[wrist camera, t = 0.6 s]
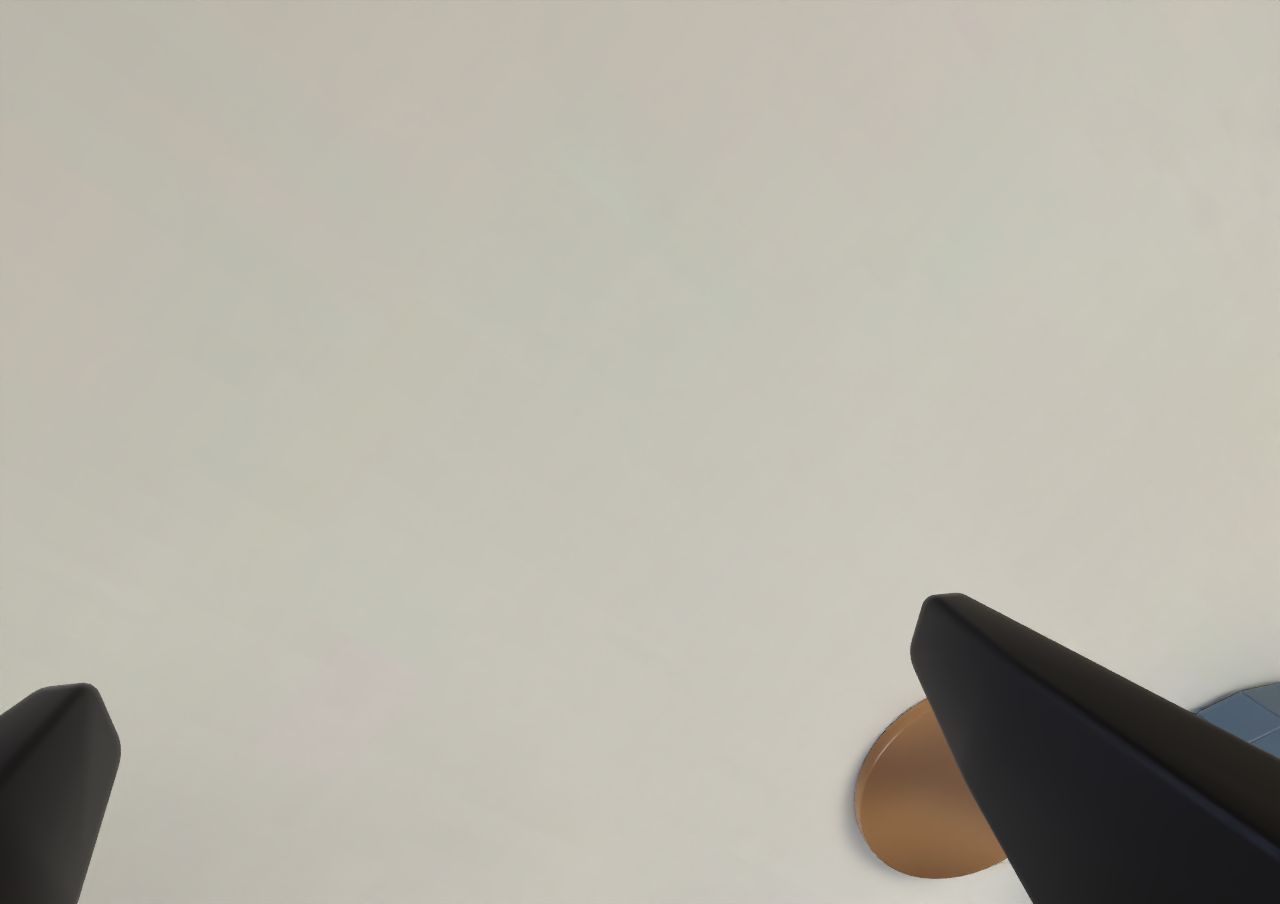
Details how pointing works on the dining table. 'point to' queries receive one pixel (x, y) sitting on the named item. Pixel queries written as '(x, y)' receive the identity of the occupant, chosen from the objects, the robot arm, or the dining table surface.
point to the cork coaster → (921, 803)
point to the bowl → (1250, 716)
